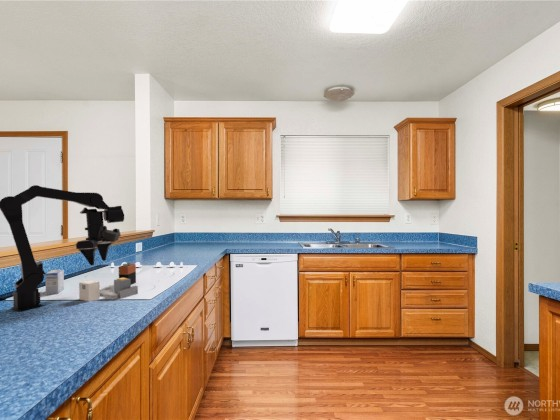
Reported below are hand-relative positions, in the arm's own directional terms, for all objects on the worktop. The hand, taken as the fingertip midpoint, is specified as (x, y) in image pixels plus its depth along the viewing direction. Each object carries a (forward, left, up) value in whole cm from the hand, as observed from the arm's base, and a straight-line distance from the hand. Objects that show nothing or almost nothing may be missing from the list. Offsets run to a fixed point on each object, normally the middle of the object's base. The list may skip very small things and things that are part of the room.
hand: (98, 262), depth 125 cm
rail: (+2, -7, -13) cm, 15 cm away
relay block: (+2, -11, -12) cm, 17 cm away
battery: (+14, +2, -13) cm, 19 cm away
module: (-7, -5, -13) cm, 15 cm away
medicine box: (-6, +21, -13) cm, 26 cm away
